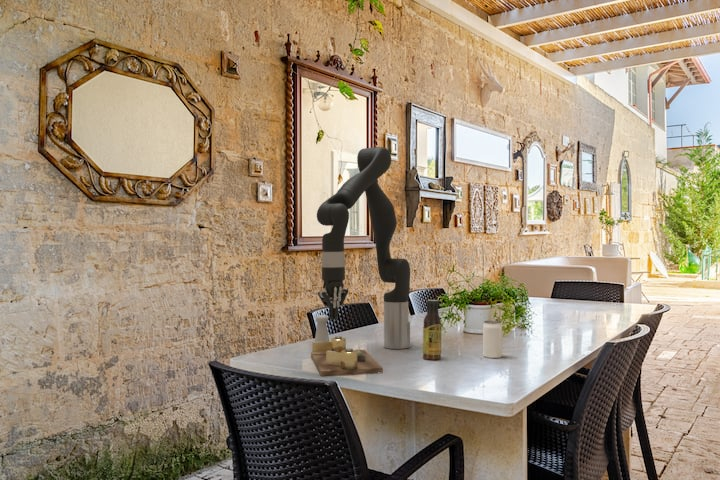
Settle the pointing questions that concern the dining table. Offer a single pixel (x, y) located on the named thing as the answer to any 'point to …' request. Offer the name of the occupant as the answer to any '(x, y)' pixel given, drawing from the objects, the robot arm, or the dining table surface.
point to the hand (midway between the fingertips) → (333, 319)
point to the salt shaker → (321, 329)
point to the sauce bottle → (432, 332)
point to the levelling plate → (330, 369)
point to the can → (492, 339)
